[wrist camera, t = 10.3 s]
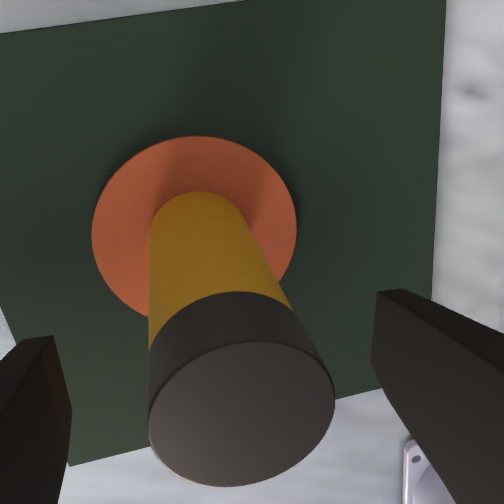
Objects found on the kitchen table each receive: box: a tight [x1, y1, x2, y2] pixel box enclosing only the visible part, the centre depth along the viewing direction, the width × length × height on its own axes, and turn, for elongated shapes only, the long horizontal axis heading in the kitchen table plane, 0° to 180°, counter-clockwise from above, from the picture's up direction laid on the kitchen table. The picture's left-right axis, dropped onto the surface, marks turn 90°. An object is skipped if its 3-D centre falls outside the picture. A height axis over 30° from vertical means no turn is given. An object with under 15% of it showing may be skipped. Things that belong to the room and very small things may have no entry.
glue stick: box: [147, 191, 335, 487], centre depth 12 cm, size 4×4×8 cm
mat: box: [0, 0, 446, 467], centre depth 17 cm, size 16×16×1 cm
